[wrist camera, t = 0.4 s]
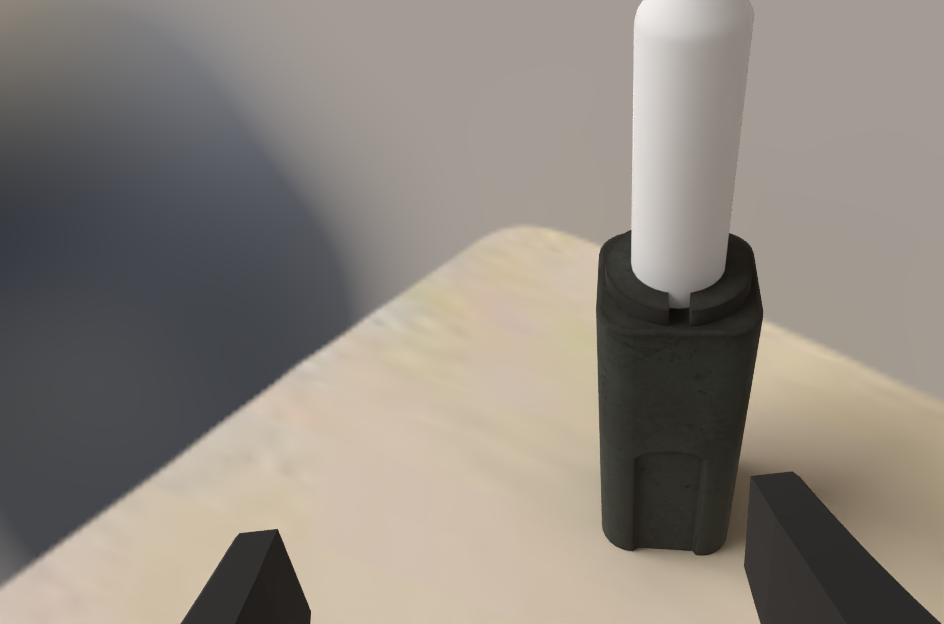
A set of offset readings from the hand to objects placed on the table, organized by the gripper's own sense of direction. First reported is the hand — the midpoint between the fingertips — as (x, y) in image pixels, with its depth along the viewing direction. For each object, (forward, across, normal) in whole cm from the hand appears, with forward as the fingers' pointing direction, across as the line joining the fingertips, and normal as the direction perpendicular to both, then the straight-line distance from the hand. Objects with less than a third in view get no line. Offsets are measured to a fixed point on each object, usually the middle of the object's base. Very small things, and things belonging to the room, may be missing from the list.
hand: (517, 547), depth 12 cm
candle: (+16, -6, +17) cm, 24 cm away
